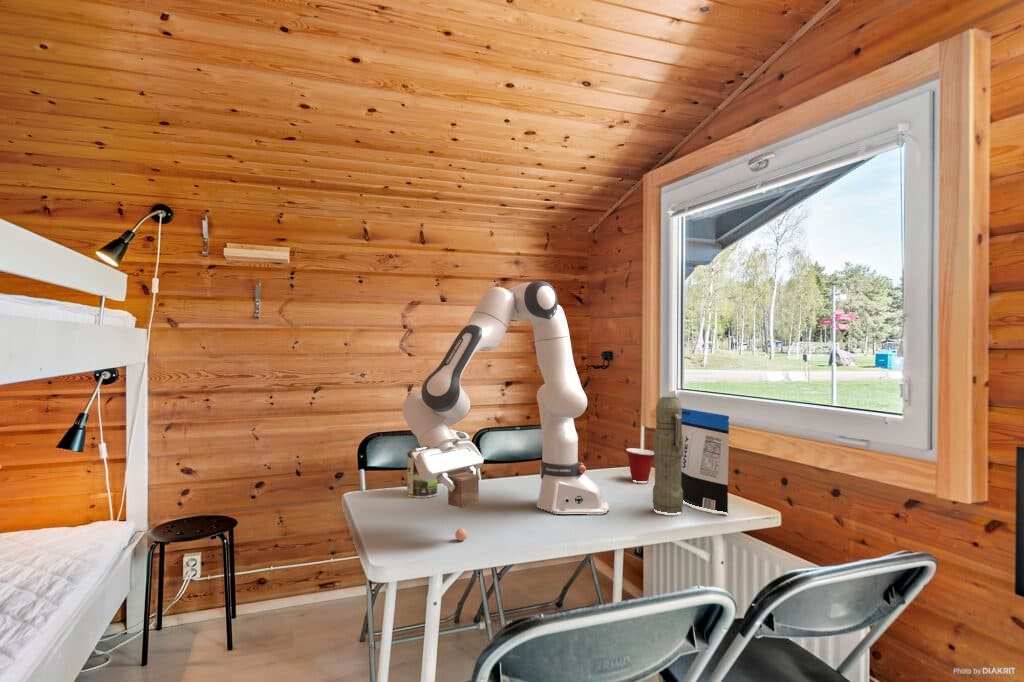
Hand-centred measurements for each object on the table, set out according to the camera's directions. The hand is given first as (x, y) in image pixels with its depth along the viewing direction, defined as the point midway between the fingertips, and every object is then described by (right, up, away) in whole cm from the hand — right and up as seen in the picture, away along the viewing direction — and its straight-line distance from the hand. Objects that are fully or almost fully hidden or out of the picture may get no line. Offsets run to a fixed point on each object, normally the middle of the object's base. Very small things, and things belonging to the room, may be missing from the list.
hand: (465, 486), depth 151 cm
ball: (-1, -14, 0) cm, 14 cm away
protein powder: (+72, -15, +37) cm, 83 cm away
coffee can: (-18, -14, +46) cm, 52 cm away
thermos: (+60, -15, +30) cm, 68 cm away
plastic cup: (+60, -16, +69) cm, 93 cm away
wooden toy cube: (0, -4, 0) cm, 4 cm away
